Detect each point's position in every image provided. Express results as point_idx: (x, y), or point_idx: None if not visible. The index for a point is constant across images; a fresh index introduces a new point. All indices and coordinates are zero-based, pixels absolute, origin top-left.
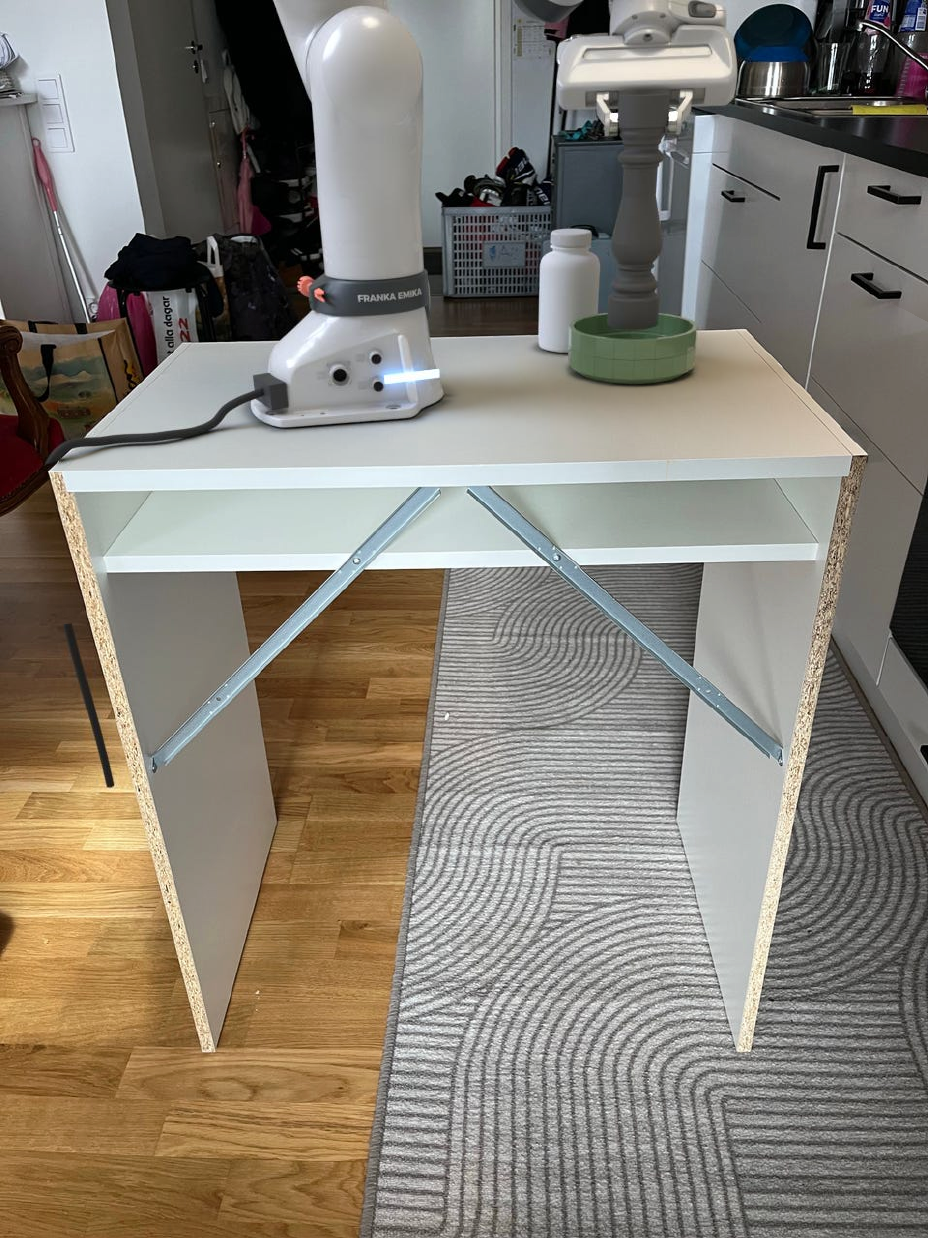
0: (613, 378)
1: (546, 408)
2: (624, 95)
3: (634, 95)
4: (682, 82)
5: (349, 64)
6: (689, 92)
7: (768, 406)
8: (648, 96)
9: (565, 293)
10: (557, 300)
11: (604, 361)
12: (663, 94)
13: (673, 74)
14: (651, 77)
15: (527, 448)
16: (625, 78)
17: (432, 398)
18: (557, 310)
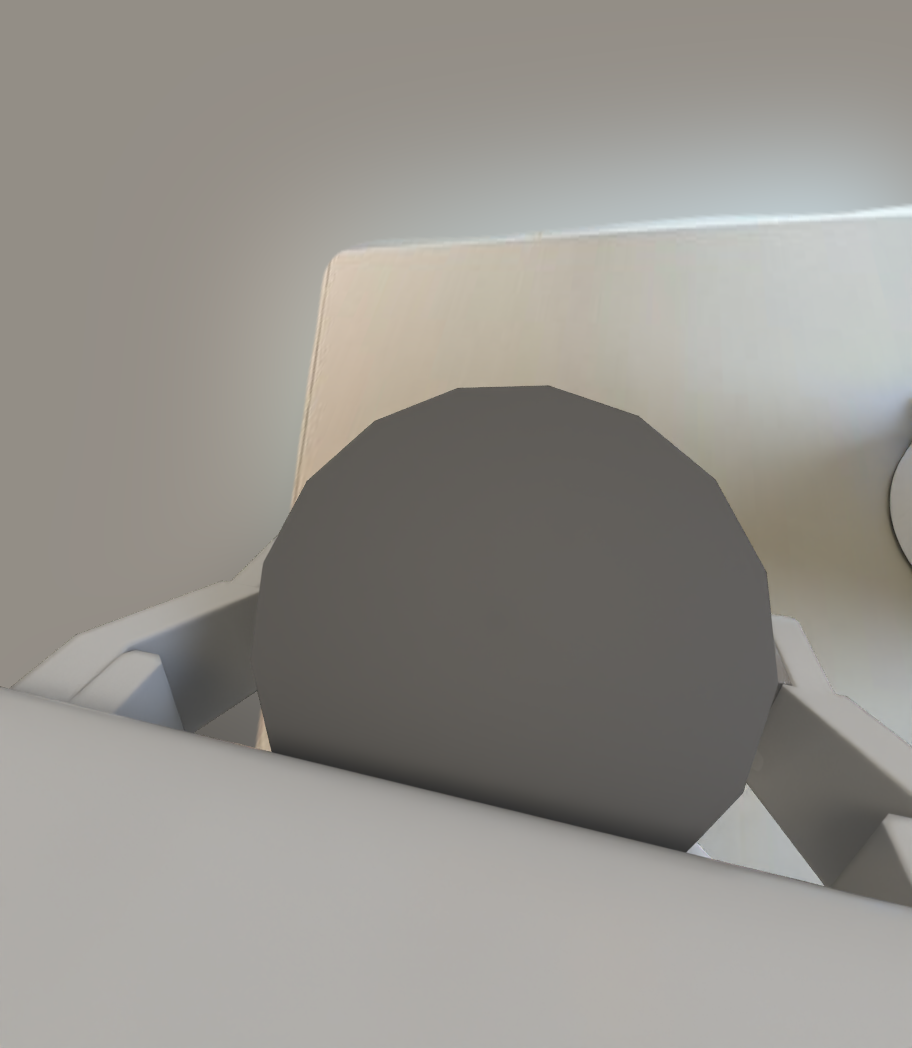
0: None
1: (690, 437)
2: (706, 694)
3: (611, 529)
4: (37, 698)
5: None
6: (51, 682)
7: (356, 425)
8: (500, 395)
9: (686, 852)
10: (703, 856)
11: None
12: (336, 524)
13: (20, 835)
14: (342, 862)
15: (716, 274)
16: (768, 991)
17: (906, 461)
18: (694, 847)
